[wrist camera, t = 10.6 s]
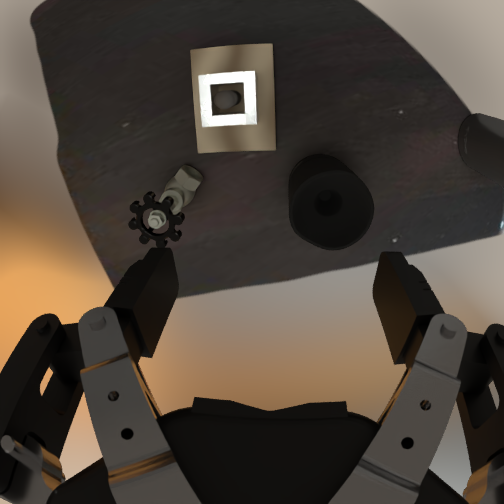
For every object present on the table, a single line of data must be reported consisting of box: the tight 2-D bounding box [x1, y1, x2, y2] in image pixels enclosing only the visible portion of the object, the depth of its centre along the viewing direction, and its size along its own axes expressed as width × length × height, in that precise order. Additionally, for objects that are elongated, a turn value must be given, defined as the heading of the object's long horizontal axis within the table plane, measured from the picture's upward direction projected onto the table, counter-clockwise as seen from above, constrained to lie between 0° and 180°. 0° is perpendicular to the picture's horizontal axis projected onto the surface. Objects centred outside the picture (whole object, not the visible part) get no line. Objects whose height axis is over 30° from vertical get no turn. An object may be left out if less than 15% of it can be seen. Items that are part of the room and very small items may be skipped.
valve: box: [128, 165, 204, 248], centre depth 35 cm, size 7×7×12 cm
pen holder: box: [289, 154, 374, 250], centre depth 35 cm, size 9×9×10 cm
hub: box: [198, 71, 259, 127], centre depth 30 cm, size 6×6×5 cm
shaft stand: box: [191, 44, 276, 153], centre depth 30 cm, size 10×14×10 cm
